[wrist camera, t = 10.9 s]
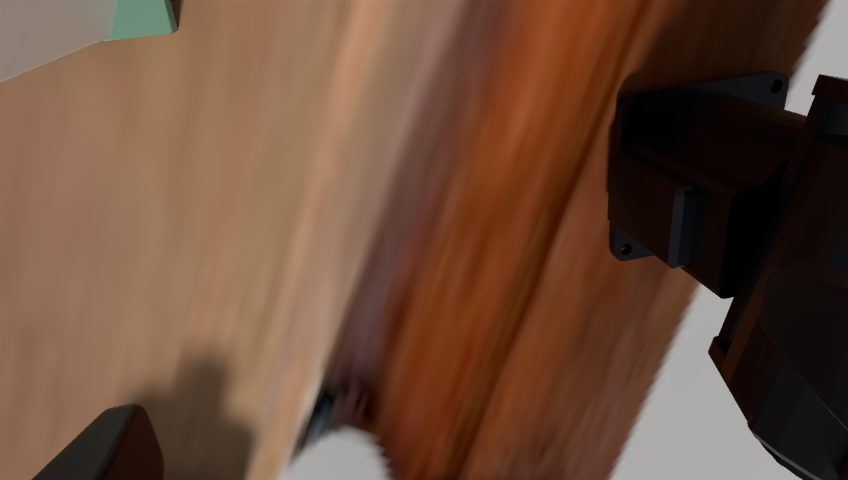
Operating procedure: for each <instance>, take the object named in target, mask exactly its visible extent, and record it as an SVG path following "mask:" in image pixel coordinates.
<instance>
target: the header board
mask: <svg viewBox="0 0 848 480" xmlns="http://www.w3.org/2000/svg"><path fill="white" fill-rule="evenodd" d="M177 30H178V28H177V24H176V20H175V16H174V12H173V8H172V4H171V0H118V5H117V9H116V14H115V19H114V24H113V29H112V34H111V37H109V38H106V39H104V40H102V41H110V40H119V39H128V38H137V37H146V36H155V35H164V34H173V33H174V32H176V31H177ZM99 42H101V41H99Z"/></svg>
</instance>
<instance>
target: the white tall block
mask: <svg viewBox="0 0 848 480" xmlns="http://www.w3.org/2000/svg"><path fill="white" fill-rule="evenodd" d="M117 5H118V0H0V83H1V82H4V81H6V80H9V79H11V78H13V77H16V76H18V75H21V74H23V73H25V72H28V71H30V70H32V69H35V68H37V67H40V66H42V65H44V64H47V63H49V62H52V61H54V60H56V59H59V58H61V57H63V56H66V55H68V54H71V53H73V52H75V51H78V50H80V49H83V48H85V47H87V46H90V45H92V44H94V43H97V42H99V41H102V40H104V39H106V38H109V37H111V34H112V29H113V24H114V19H115V14H116V9H117Z"/></svg>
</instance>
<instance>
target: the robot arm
mask: <svg viewBox="0 0 848 480" xmlns="http://www.w3.org/2000/svg"><path fill="white" fill-rule="evenodd" d="M773 81H774V86H773V88H772V89H771V90H770V86H771V83H772V82H773ZM788 85H789V79H788V77H787V75H786V74H785V73H783V72H778V71H771V70H770V71H763V72H756V73H749V74H742V75H735V76H728V77H721V78H714V79H707V80H700V81H693V82H686V83H679V84H672V85H665V86H658V87H651V88H644V89H637V90H630V91H628V92H625V93H624V94H623V95H622V96H621V97H620V99H619V100H618V103H617V111H616V130H615V149H614V153H613V155H612V156H611V159H610V179H609V199H608V219H609V220H610V221H611V225H610V244H609V248H610V252H611V253H612V255H613V256H615V257H616V258H617V259H618V260H621V261H627V260H633V259H638V258H643V257H648V256H653V255H655V256H656V257H658V258H659V259H660V260H661V261H663V262H664V263H665V264H667V265H668V266H669V267H671V268H673V269H675V268H681V269H683V270H684V271H685V272H687V273H688V274H689V275H691V276H692V277H693V278H695V279H696V280H697V281H699V282H700V283H701V284H703V285H704V286H705V287H707V288H708V289H710V290H711V291H712V292H713V293H715V294H716V295H718V296H719V297H720V298H722V299H726V298H731V297H734V298H733V301H732V303H731V306H730V308H729V311H728V313H727V316H726V318H725V321H724V323H723V326H722V328H721V330H720V333H719V336H716V337H714V338H713V341H712V343H711V346H710V348H709V351H708V354H709V355H710V357H711V359H712V360H713V362H714V364H715V366H716V367H717V369H718V371H719V373H720V374H721V376H722V378H723V380H724V381H725V383H726V385H727V387H728V388H729V390H730V392H731V394H732V395H733V397H734V399H735V401H736V402H737V404H738V406H739V408H740V409H741V411H742V413H743V415H744V416H745V418H746V420H747V424H748V427H749V429H750V430H751V432H752V433H753V435H754V436H755V437H756V439H758V440H759V441H760V443H761V444H762V445H763V447H764V448H765V449H766V450H767V451H768V452H769V453H770V454H771V455H772V456H773V458H774V459H775V460H776V461H777V462H778V463H779V464H780V465H782V466H784V467H786V468H787V469H788V470H789V471H791V472H792V473H793V474H795V475H796V476H798V477H799V478H801V479H803V480H848V79H845V78H839V77H833V76H827V75H820V74H819V76H818V79H817V81H816V84H815V86H814V89H813V91H812V95H815V98H814V100H813V102H812V105H811V108H810V110H809V113H808V115H807V116H805V115H801V114H798V113H794V112H790V111H787V110H784V108H785V102H786V96H787V90H788ZM634 100H636V103H637V104H636V108H635V109H634V110H633V111H631V112H630V111H629V107H630V104H631V103H632V102H633V101H634ZM626 243H627V246H626V248H625V249H624V250H622V251H620V250H621V247H622V246H623V245H624V244H626ZM32 480H164V460H163V454H162V450H161V447H160V444H159V442H158V439H157V436H156V434H155V431H154V428H153V426H152V423H151V421H150V418H149V415H148V413H147V410H146V409H145V407H144V406H143V405H142V404H140V403H132V404H127V405H123V406H118V407H113V408H109V409H107V410H105V411H104V412H103V413H101V414H100V415H99V416H98V417H97V418H96V419H95V420H94V421H93V422H92V423H91V424H90V425H89V426H88V427H86V428H85V429H84V430H83V431H82V432H81V433H80V434H79V435H78V436H77V437H76V438H75V439H74V440H73V441H72V442H71V443H70V444H69V445H68V446H66V447H65V448H64V449H63V450H62V451H61V452H60V453H59V454H58V455H57V456H56V457H55V458H54V459H53V460H52V461H51V462H50V463H49V464H47V465H46V466H45V467H44V468H43V469H42V470H41V471H40V472H39V473H38V474H37V475H36V476H35V477H34V478H33V479H32Z"/></svg>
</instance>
